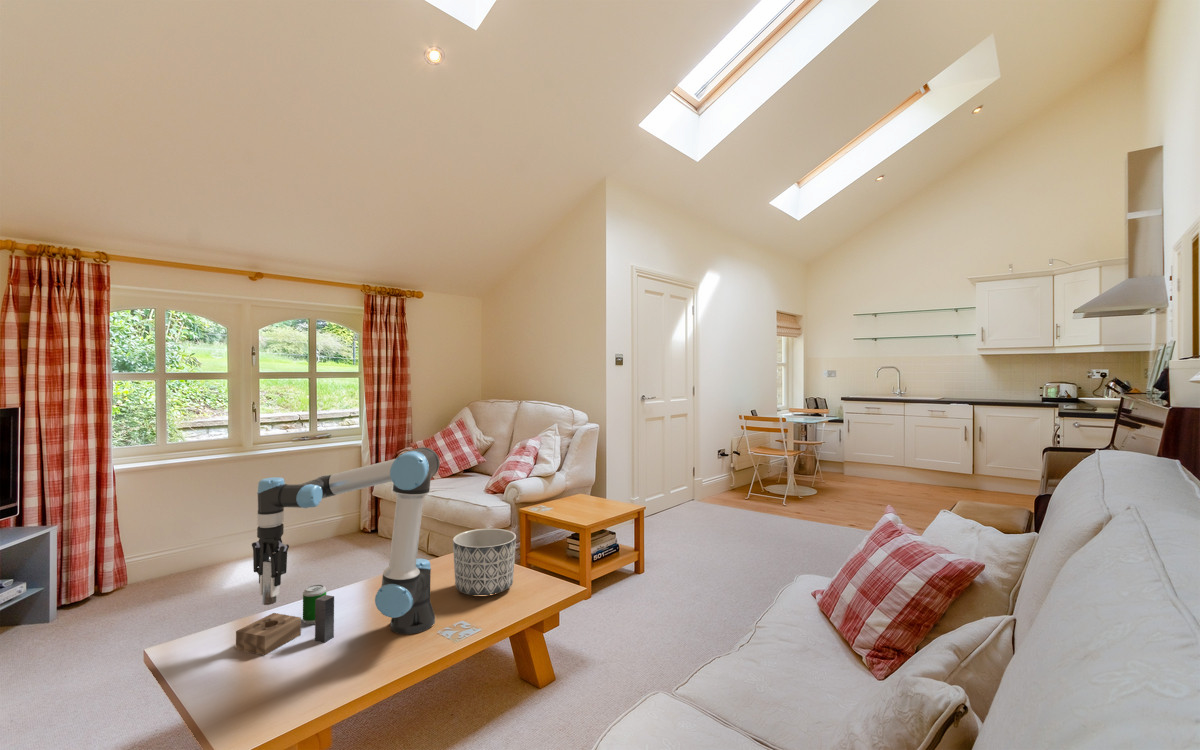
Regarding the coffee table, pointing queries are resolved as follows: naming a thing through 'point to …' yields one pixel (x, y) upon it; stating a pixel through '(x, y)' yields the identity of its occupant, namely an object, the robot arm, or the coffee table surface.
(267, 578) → the cylinder
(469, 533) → the planter
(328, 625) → the square bit
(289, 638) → the bore block
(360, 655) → the coffee table surface
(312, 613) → the soda can
